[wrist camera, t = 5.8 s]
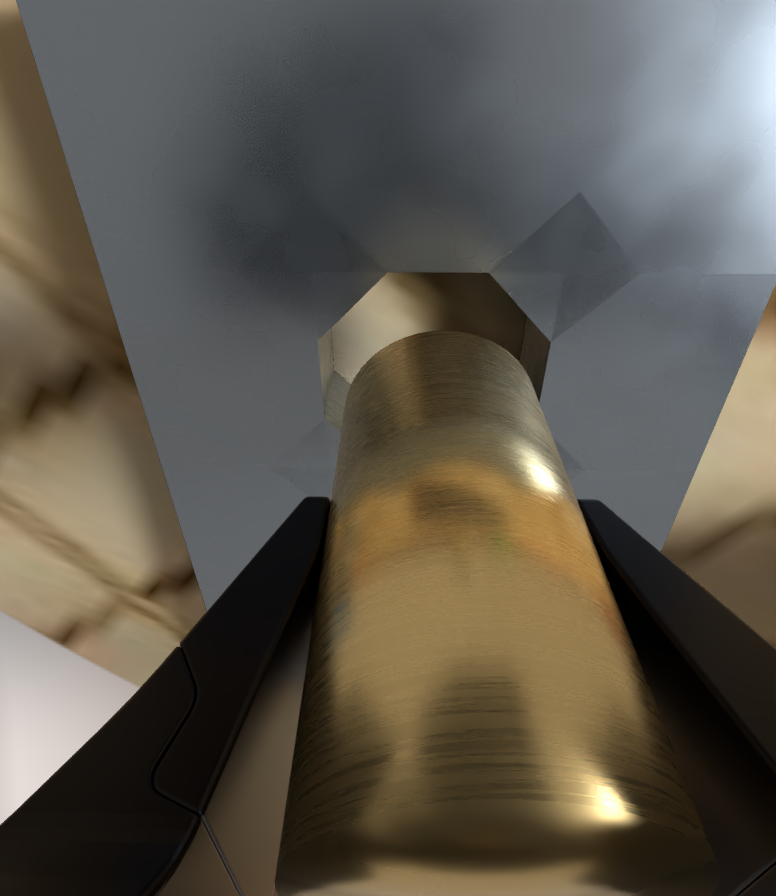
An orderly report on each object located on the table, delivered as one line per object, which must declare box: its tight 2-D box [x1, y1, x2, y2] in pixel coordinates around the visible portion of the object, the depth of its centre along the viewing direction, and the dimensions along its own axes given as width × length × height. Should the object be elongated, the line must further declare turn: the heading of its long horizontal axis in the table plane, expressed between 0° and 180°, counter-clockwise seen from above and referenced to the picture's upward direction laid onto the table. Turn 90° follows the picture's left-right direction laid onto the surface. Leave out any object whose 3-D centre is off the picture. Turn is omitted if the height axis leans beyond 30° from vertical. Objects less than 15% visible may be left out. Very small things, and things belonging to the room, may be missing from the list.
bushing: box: [275, 330, 720, 896], centre depth 8 cm, size 4×4×8 cm
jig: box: [16, 0, 776, 611], centre depth 16 cm, size 14×22×3 cm, turn 0°
